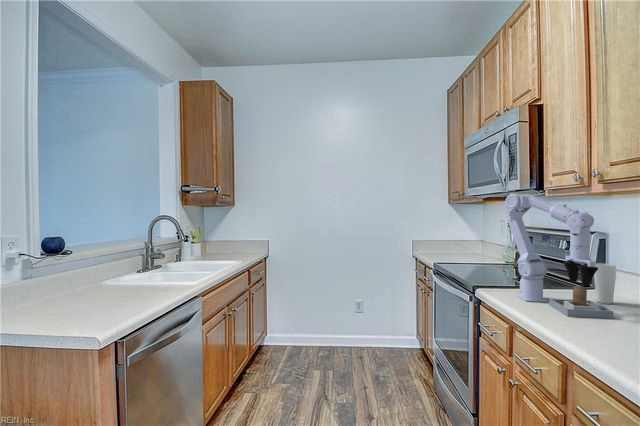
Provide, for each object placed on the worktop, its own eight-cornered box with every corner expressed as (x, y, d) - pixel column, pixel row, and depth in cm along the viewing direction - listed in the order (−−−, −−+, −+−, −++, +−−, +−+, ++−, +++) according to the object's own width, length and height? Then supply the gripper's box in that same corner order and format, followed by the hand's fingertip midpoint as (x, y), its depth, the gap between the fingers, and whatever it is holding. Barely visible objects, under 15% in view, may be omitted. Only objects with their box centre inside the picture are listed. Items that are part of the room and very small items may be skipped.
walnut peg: (570, 307, 129) (570, 286, 129) (581, 307, 129) (582, 286, 128) (576, 310, 125) (577, 288, 125) (588, 311, 125) (589, 288, 124)
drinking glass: (589, 301, 140) (590, 264, 140) (600, 299, 143) (601, 263, 143) (608, 305, 134) (609, 266, 134) (619, 303, 137) (620, 265, 136)
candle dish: (549, 305, 135) (549, 298, 135) (590, 307, 132) (590, 299, 132) (567, 316, 121) (567, 308, 121) (613, 318, 119) (613, 310, 119)
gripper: (557, 243, 134) (556, 279, 134) (580, 248, 120) (579, 287, 120) (577, 244, 133) (576, 279, 133) (602, 248, 119) (602, 288, 119)
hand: (579, 283), depth 127 cm, fingers open, 7 cm apart
